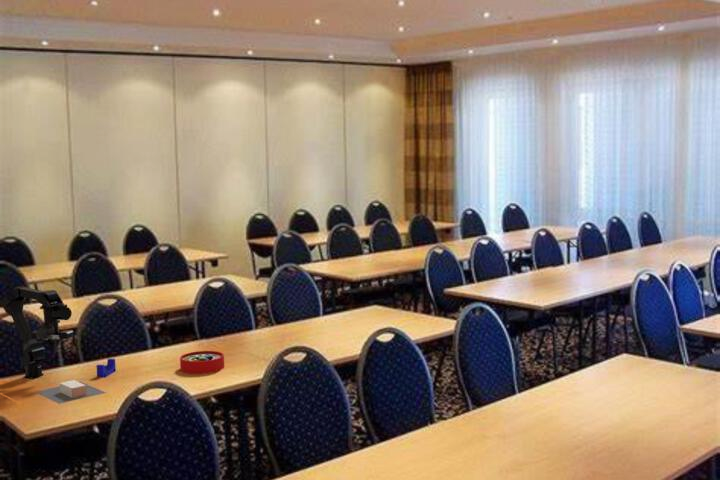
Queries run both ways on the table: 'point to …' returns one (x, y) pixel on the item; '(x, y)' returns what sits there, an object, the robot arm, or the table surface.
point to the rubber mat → (62, 398)
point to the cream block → (73, 389)
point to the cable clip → (106, 368)
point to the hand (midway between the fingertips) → (54, 353)
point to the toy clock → (202, 362)
